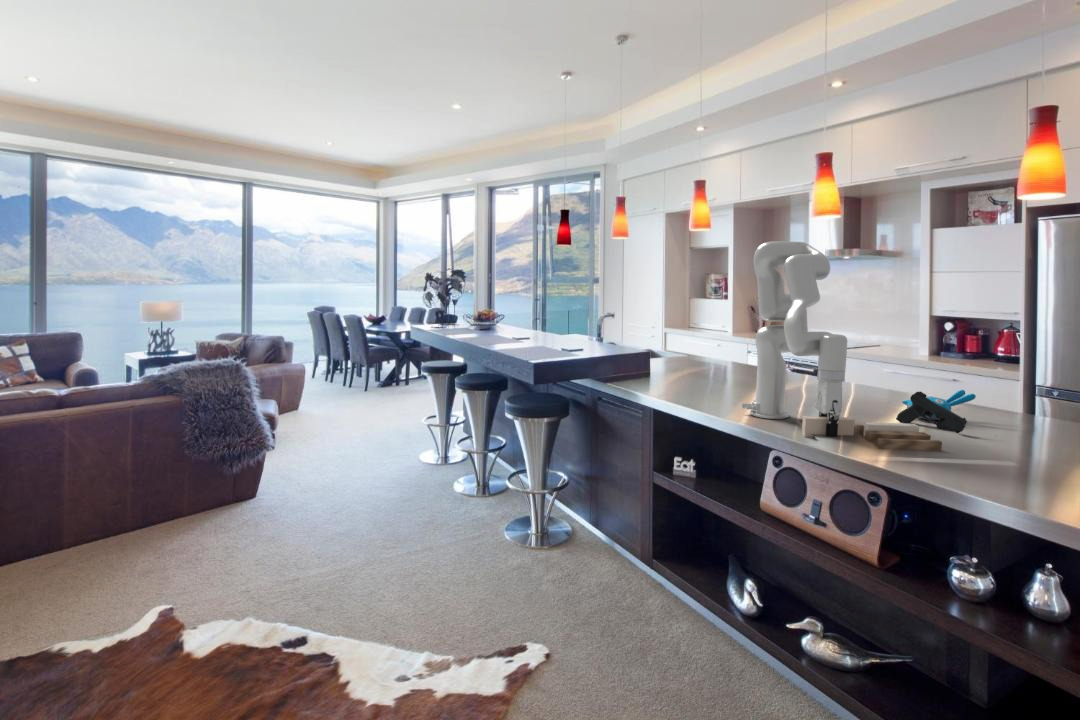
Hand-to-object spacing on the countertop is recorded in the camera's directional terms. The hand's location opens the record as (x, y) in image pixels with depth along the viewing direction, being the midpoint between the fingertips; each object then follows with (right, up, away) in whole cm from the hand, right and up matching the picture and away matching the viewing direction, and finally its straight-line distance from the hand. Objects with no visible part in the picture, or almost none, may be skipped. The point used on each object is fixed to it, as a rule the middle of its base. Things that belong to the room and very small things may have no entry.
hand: (827, 432), depth 187 cm
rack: (+16, -2, -9) cm, 18 cm away
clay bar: (0, -1, 0) cm, 1 cm away
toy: (+47, +2, +22) cm, 52 cm away
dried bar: (+16, -1, -5) cm, 17 cm away
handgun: (+36, 0, +8) cm, 37 cm away
